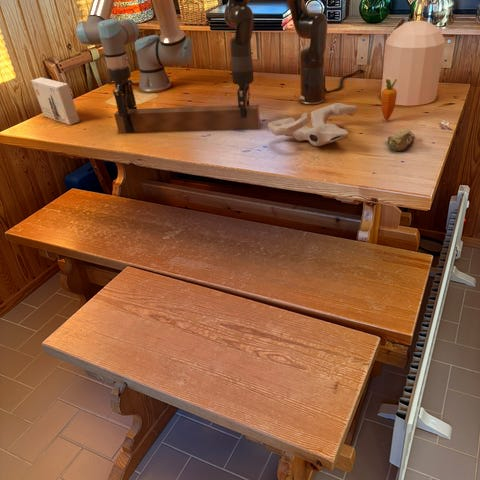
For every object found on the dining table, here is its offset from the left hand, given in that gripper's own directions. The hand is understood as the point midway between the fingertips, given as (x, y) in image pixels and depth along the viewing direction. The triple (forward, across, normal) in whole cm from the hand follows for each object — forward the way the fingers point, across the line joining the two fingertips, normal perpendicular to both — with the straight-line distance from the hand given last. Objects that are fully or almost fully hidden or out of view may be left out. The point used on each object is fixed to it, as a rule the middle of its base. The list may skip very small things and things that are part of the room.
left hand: (132, 129), depth 179 cm
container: (+1, +27, -107) cm, 110 cm away
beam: (+1, 0, -22) cm, 23 cm away
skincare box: (+1, +15, +37) cm, 40 cm away
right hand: (-5, 0, -45) cm, 45 cm away
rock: (+1, -20, -98) cm, 100 cm away
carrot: (+1, +2, -95) cm, 95 cm away
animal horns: (+1, -16, -72) cm, 74 cm away
